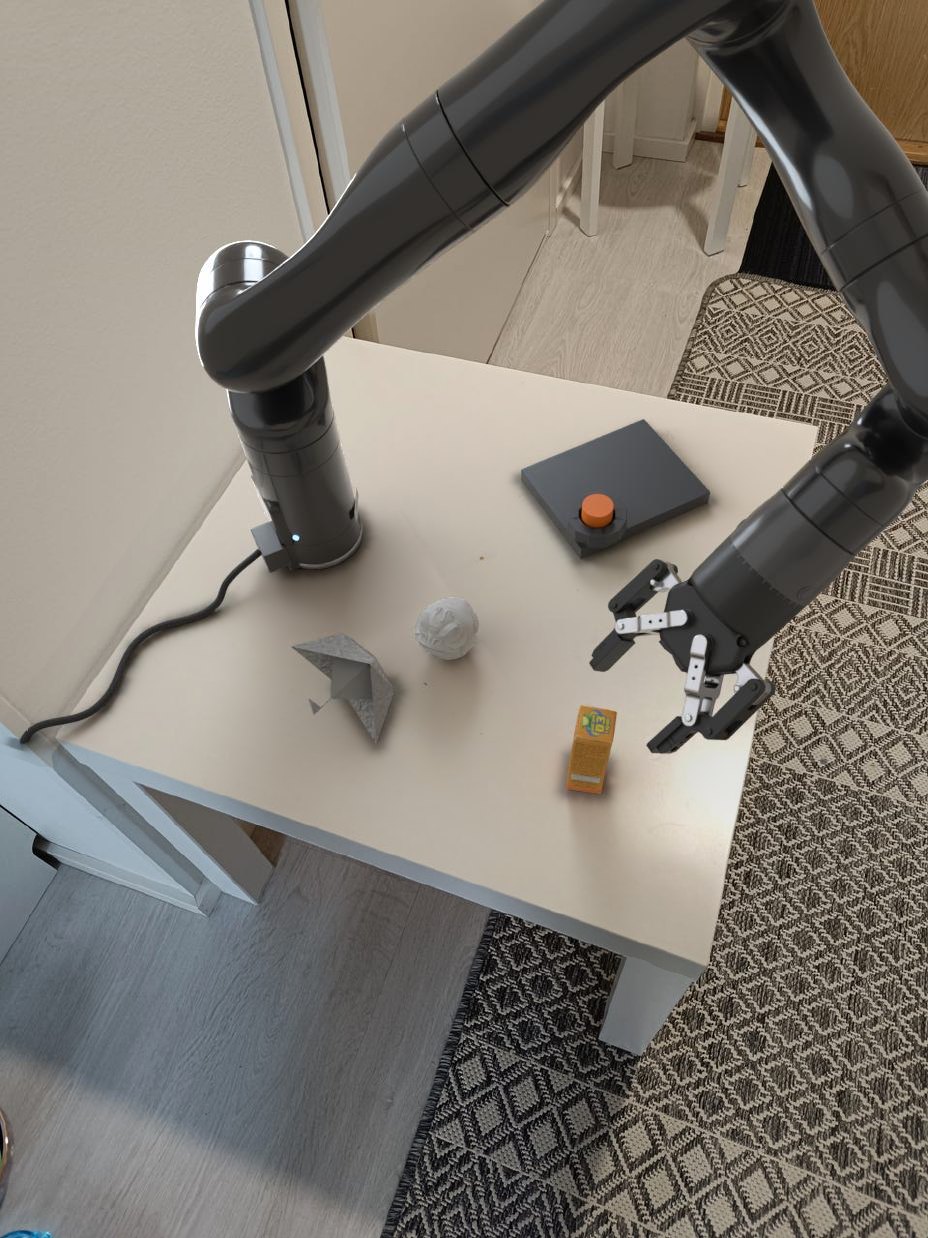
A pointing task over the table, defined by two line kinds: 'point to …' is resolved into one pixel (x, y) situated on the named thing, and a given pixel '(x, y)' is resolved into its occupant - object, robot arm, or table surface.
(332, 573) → the table surface
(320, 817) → the table surface
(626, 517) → the scale
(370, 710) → the gray faceted winged figurine
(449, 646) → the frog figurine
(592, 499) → the tare button
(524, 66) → the robot arm
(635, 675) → the table surface
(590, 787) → the supplement box
